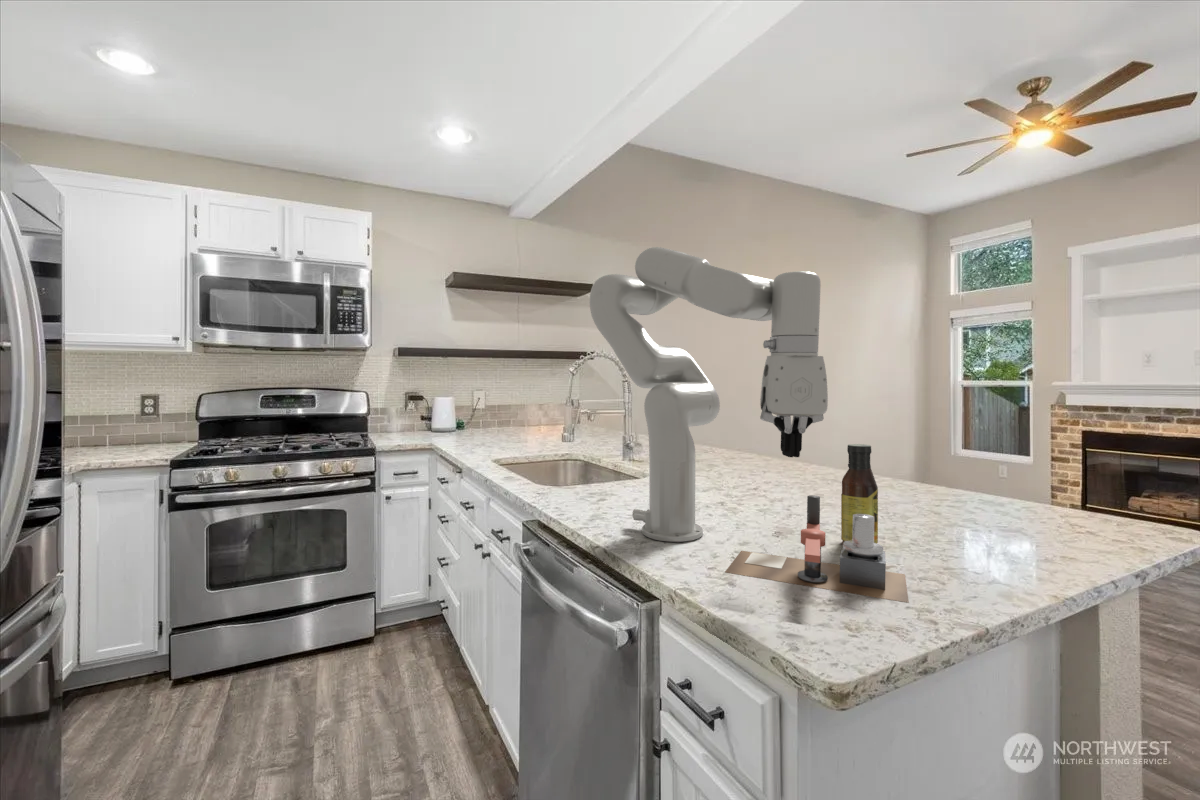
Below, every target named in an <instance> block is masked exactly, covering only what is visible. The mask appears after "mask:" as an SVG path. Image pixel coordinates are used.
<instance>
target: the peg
mask: <svg viewBox="0 0 1200 800" xmlns="http://www.w3.org/2000/svg"><path fill="white" fill-rule="evenodd" d="M842 546H843V549H844V550H845V551H846V552H849V553H851V554H852V557H856V558H863V559H871V560H874V557H875V556H881V555H883V551H884V547H883V546H882V545H881V544H879V543H874V516H871V515H867V514H854V515H853V537H852V540H848V541H845V542H844V543H843V544H842Z"/></svg>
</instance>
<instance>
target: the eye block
mask: <svg viewBox="0 0 1200 800" xmlns="http://www.w3.org/2000/svg"><path fill="white" fill-rule="evenodd" d="M840 550H841V551H840V555H839V565H840V583H843V584H850V585H856V586H862V587H868V588H875V589H881V590H885V573H886V572H887V571H886V569H887V567H886V566H887V565H886V563H887V562H886V551H884V550H883V555H881V556H875V557H874V560H871V559H863V558H856V557H852V554H851V553H849V552H846V551H845V550H844V549H843V545H842V546H841V549H840Z"/></svg>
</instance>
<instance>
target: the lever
mask: <svg viewBox="0 0 1200 800" xmlns="http://www.w3.org/2000/svg"><path fill="white" fill-rule="evenodd" d="M806 497H807V499H806V501H807V502H806V505H807V507H806V528H803V529H801V530H800V543H801V544H802V545H804V560H805V561H807V562H816V563H820V547H821V548H823V547H825V546H826V532H825V531H824V530H821V527H820V526H821V523H820V522H821V521H820V520H821V518H820V517H821V514H820V513H821V497H820V496H818V495H810V494H809V495H807V496H806Z"/></svg>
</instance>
